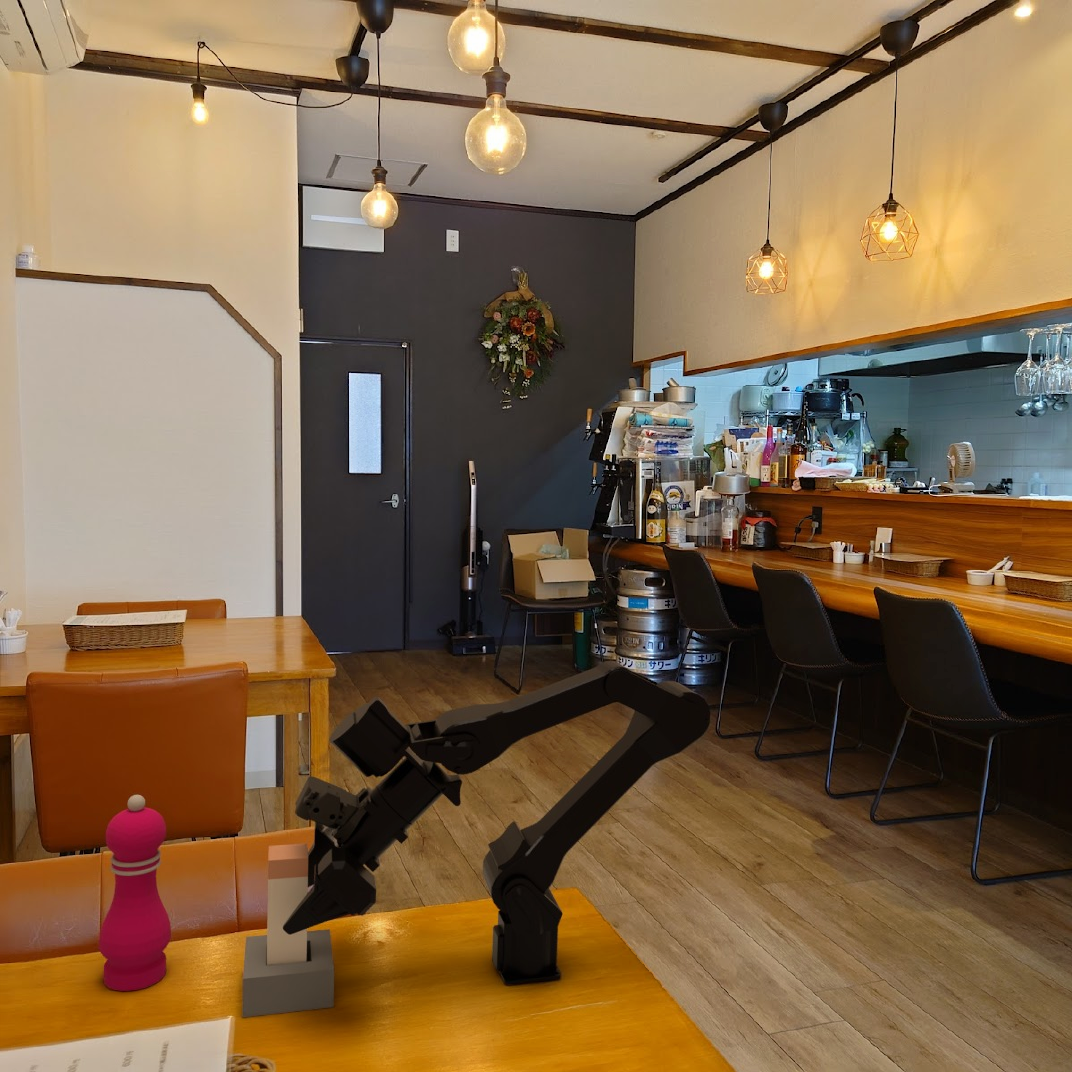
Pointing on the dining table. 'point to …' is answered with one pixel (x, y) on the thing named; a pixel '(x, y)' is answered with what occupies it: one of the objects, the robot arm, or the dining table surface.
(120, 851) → the pepper mill
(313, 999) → the socket block
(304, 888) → the plug
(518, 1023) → the dining table surface
